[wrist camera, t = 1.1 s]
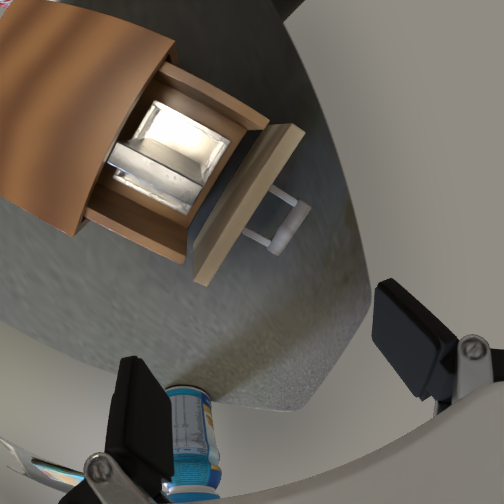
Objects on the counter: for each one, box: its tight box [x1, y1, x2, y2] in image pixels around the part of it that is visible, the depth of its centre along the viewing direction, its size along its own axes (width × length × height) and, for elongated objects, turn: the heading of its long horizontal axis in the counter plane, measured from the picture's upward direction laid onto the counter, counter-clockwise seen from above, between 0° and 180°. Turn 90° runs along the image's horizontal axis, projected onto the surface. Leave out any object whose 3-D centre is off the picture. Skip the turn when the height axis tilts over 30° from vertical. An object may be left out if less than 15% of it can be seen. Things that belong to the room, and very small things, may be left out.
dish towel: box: [31, 459, 85, 486], centre depth 48 cm, size 17×23×2 cm
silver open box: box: [107, 100, 231, 216], centre depth 17 cm, size 7×7×11 cm
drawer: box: [83, 61, 312, 287], centre depth 21 cm, size 20×13×7 cm, turn 58°
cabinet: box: [0, 0, 181, 237], centre depth 15 cm, size 17×15×9 cm
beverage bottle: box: [163, 386, 222, 503], centre depth 29 cm, size 8×8×20 cm
